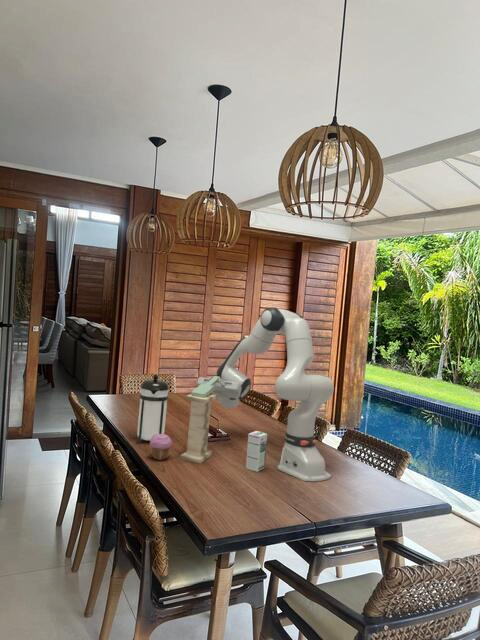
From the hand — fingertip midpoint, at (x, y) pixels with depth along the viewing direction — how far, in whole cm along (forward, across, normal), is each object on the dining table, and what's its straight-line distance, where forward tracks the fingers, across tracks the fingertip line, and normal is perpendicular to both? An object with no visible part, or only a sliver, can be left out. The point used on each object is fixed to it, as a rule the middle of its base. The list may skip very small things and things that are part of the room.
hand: (214, 379), depth 213 cm
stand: (-4, 0, +33) cm, 34 cm away
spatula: (+4, 0, +6) cm, 7 cm away
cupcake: (+4, -12, +39) cm, 41 cm away
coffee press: (-13, -27, +29) cm, 42 cm away
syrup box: (-5, +26, +33) cm, 42 cm away
